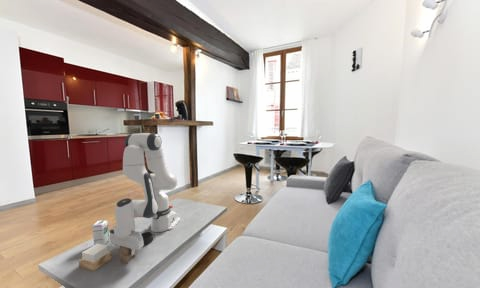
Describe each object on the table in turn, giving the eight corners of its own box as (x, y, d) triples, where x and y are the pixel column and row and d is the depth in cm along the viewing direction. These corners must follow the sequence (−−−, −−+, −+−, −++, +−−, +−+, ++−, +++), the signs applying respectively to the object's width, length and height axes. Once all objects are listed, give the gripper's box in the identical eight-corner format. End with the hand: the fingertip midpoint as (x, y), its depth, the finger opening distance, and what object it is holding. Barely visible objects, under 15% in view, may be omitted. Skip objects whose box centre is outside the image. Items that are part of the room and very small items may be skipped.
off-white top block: (97, 250, 107) (97, 243, 106) (108, 252, 105) (108, 245, 104) (82, 259, 99) (81, 252, 99) (94, 262, 97) (93, 255, 97)
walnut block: (128, 255, 108) (127, 241, 107) (135, 256, 107) (134, 243, 106) (120, 261, 103) (119, 247, 102) (127, 262, 102) (126, 248, 101)
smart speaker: (149, 235, 127) (149, 230, 127) (156, 240, 122) (155, 234, 121) (135, 241, 120) (135, 236, 120) (141, 247, 115) (141, 241, 114)
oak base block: (98, 255, 109) (98, 248, 108) (111, 258, 106) (111, 251, 105) (79, 267, 99) (78, 260, 99) (93, 271, 96) (92, 264, 96)
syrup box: (104, 247, 115) (102, 224, 114) (93, 248, 114) (91, 225, 113) (109, 241, 121) (107, 219, 119) (99, 242, 120) (97, 220, 118)
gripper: (145, 229, 103) (147, 253, 104) (117, 223, 109) (118, 246, 111) (136, 235, 97) (137, 261, 98) (106, 229, 103) (108, 253, 105)
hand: (127, 253), depth 105 cm, fingers open, 5 cm apart
